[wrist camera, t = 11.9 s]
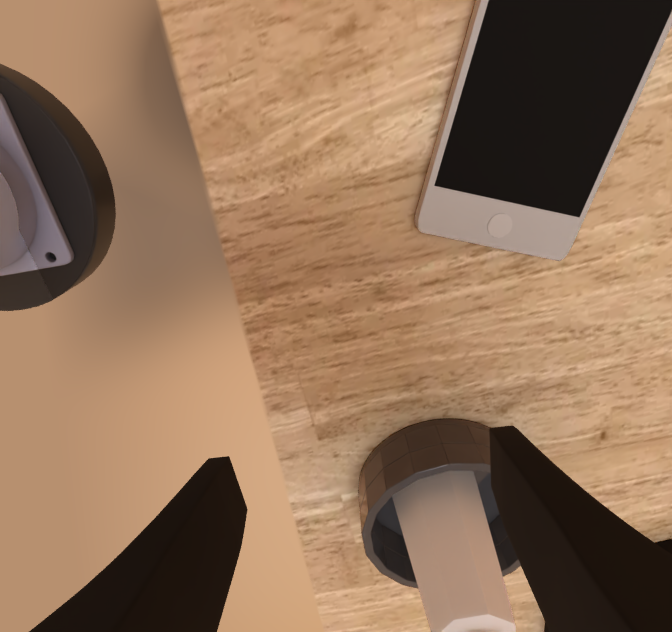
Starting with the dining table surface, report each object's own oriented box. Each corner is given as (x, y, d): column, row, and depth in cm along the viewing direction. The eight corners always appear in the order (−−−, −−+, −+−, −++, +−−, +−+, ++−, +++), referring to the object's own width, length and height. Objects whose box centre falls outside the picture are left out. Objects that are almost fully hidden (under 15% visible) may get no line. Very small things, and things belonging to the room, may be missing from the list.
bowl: (370, 547, 28) (375, 601, 25) (346, 431, 24) (349, 477, 21) (519, 528, 28) (544, 580, 25) (521, 405, 24) (551, 449, 20)
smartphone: (411, 227, 19) (414, 232, 18) (550, -266, 13) (566, -295, 12) (555, 257, 20) (566, 263, 19) (755, -196, 14) (784, -218, 13)
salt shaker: (487, 454, 24) (598, 684, 14) (463, 519, 27) (544, 758, 17) (396, 445, 24) (445, 676, 14) (379, 512, 26) (410, 751, 16)
